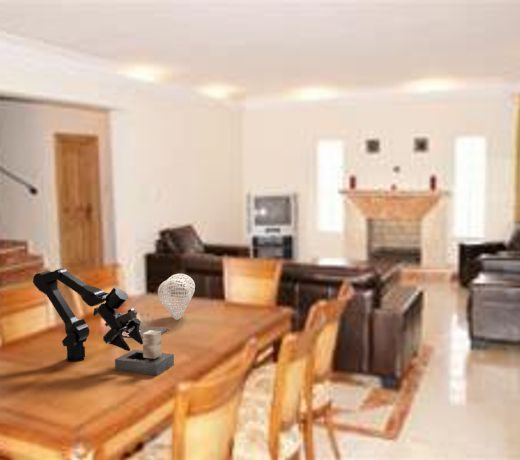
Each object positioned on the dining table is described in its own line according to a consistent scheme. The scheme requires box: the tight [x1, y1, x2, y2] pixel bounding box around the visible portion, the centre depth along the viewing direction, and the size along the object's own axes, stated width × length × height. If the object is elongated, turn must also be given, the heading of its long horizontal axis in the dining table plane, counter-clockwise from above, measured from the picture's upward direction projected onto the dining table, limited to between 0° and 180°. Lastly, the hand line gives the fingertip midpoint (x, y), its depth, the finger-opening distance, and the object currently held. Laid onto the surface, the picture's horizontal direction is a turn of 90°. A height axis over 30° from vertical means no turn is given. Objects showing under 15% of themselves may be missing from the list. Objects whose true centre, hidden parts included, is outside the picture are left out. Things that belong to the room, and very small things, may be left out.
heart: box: [157, 273, 196, 321], centre depth 297 cm, size 28×16×22 cm, turn 175°
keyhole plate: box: [114, 349, 175, 376], centre depth 225 cm, size 18×13×4 cm
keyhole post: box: [142, 330, 163, 360], centre depth 223 cm, size 6×6×13 cm
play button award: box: [139, 325, 170, 339], centre depth 274 cm, size 16×2×20 cm
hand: (136, 347), depth 226 cm, fingers open, 9 cm apart
